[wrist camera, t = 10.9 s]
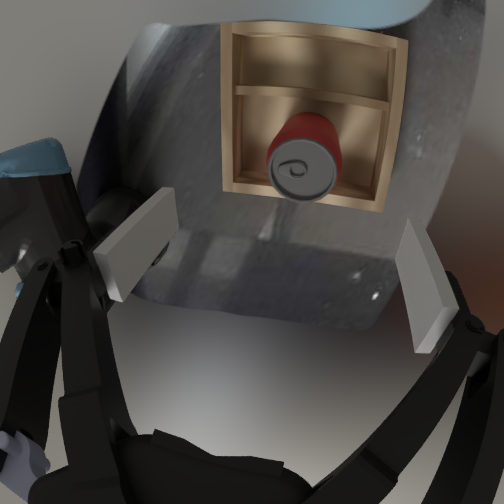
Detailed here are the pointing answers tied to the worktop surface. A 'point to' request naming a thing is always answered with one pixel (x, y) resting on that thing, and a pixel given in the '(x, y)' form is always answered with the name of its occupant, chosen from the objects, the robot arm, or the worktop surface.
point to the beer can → (305, 158)
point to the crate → (312, 102)
